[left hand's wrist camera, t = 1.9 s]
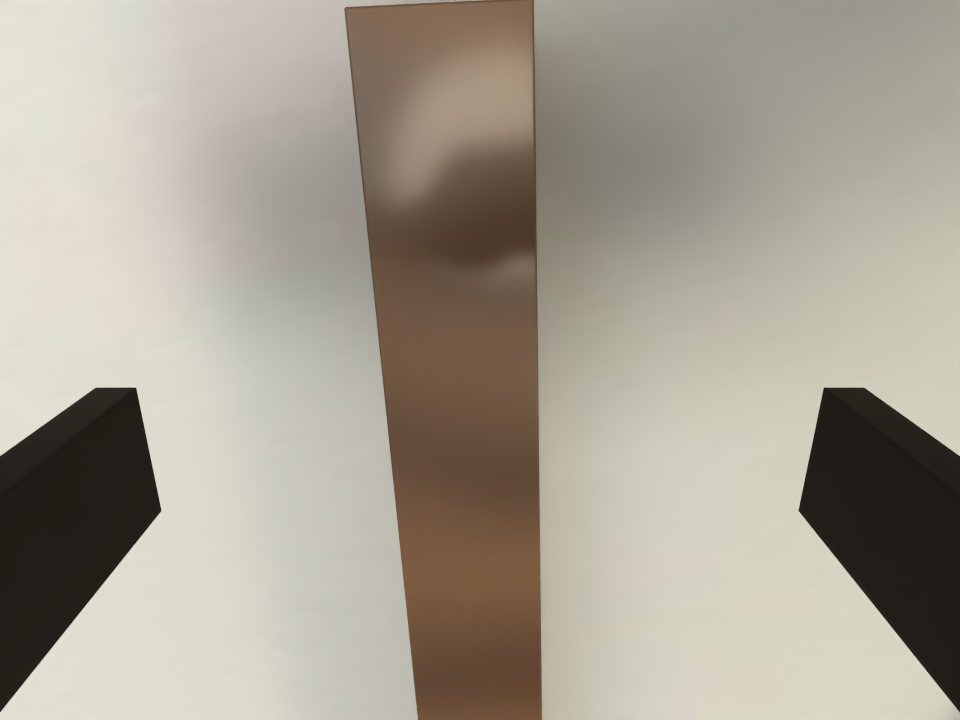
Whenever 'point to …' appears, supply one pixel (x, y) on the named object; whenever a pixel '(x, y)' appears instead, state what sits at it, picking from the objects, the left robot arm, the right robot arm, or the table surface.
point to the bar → (458, 336)
